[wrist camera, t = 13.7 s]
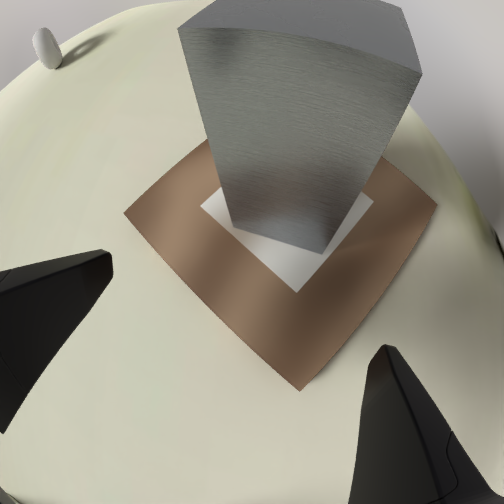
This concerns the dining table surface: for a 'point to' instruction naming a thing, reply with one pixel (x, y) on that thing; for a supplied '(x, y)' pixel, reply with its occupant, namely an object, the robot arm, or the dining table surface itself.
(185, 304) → the dining table surface
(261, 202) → the gray block
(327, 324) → the walnut board
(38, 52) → the donut
